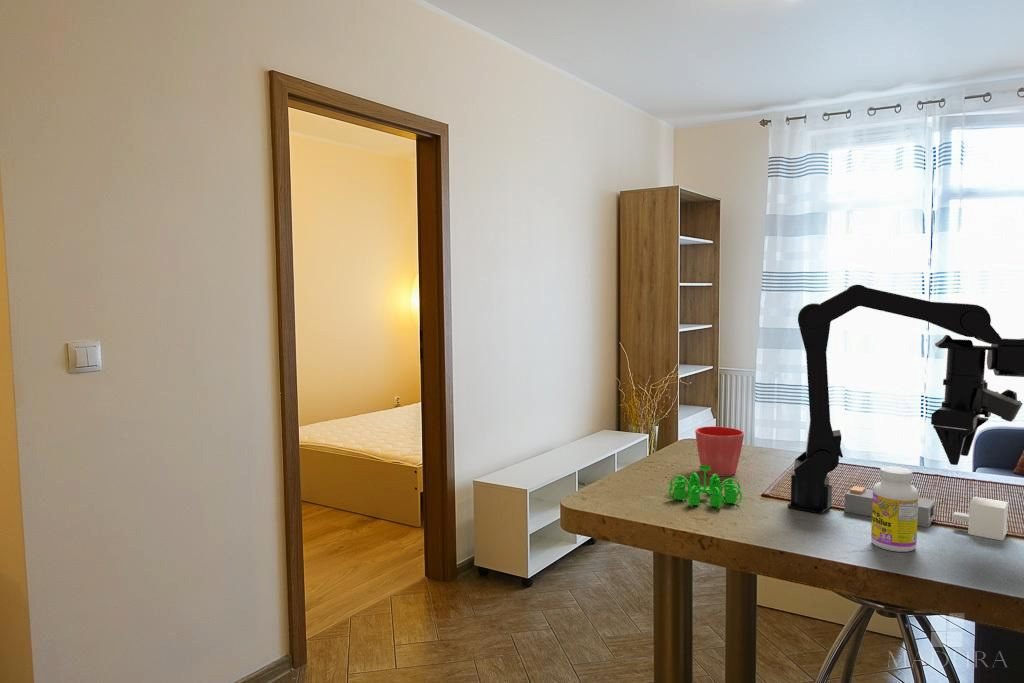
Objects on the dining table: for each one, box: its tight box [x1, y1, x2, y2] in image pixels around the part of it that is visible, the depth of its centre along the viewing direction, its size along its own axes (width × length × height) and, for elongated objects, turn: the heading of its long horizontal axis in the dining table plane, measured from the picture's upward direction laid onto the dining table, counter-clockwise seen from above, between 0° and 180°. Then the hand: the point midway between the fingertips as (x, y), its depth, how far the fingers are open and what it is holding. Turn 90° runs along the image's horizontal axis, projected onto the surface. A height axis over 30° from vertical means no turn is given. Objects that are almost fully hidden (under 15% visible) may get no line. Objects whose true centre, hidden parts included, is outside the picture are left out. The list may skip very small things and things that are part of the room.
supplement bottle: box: [870, 466, 920, 553], centre depth 117 cm, size 7×7×13 cm
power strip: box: [844, 485, 936, 528], centre depth 132 cm, size 14×6×4 cm, turn 49°
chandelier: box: [668, 465, 743, 510], centre depth 143 cm, size 15×15×7 cm
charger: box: [952, 496, 1009, 541], centre depth 123 cm, size 8×5×6 cm, turn 49°
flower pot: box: [694, 426, 745, 477], centre depth 164 cm, size 11×11×10 cm
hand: (959, 460), depth 127 cm, fingers open, 9 cm apart
